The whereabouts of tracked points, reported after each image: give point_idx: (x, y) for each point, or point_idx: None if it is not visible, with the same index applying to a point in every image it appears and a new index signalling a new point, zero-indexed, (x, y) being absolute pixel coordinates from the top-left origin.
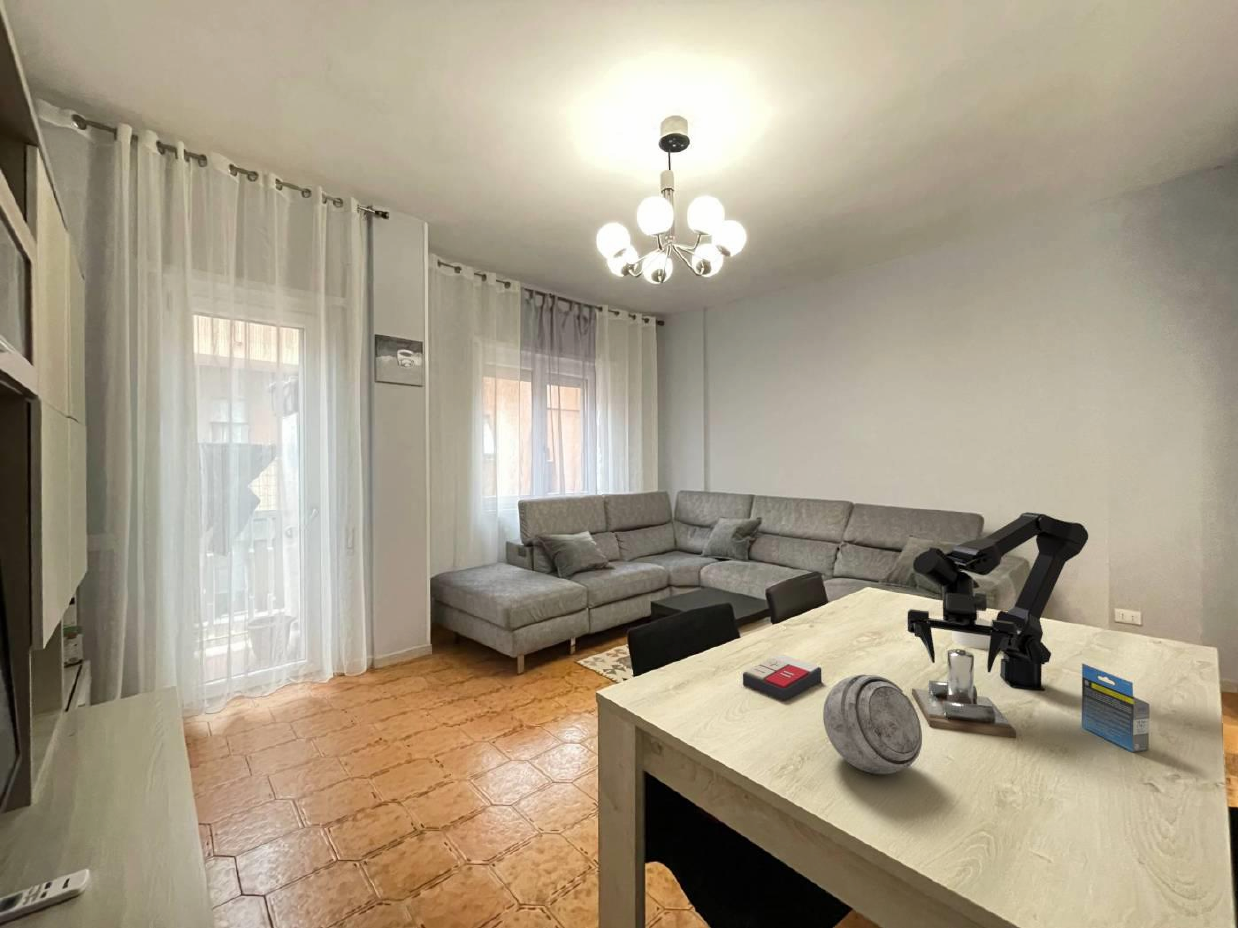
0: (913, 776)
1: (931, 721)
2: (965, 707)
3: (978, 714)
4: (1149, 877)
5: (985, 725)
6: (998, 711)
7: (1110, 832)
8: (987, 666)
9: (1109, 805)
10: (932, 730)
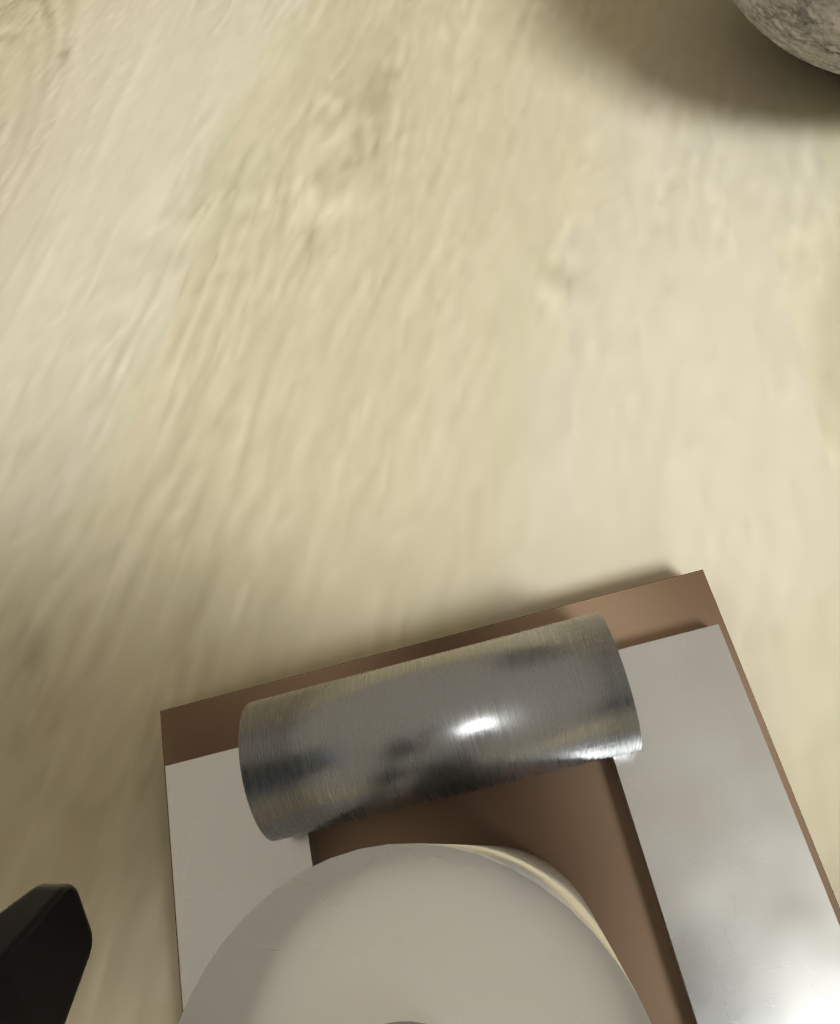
0: (693, 64)
1: (688, 577)
2: (452, 667)
3: (365, 672)
4: (74, 13)
5: None
6: None
7: (79, 133)
8: (41, 998)
9: (3, 281)
10: (669, 536)
